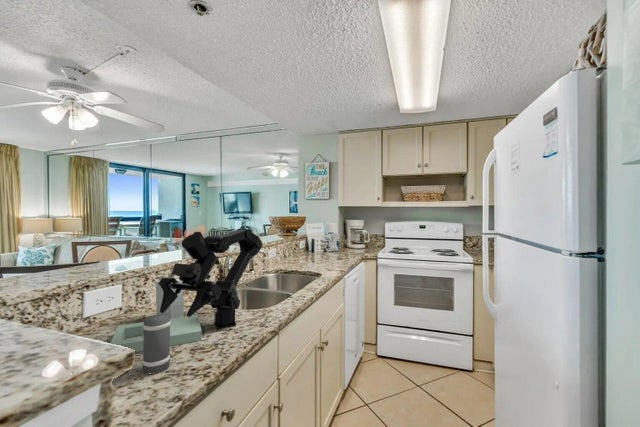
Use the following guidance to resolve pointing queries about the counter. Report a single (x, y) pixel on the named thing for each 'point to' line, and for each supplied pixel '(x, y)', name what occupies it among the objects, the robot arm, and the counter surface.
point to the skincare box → (175, 308)
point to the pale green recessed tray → (179, 333)
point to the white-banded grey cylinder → (156, 343)
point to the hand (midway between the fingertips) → (174, 314)
